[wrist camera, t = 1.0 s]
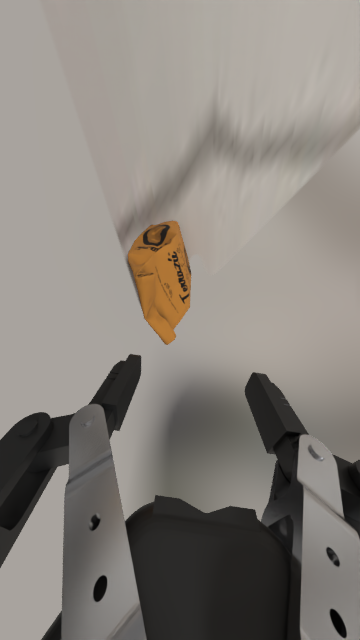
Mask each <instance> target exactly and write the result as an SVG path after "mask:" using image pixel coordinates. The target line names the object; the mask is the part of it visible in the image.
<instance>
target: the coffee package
mask: <svg viewBox="0 0 360 640" xmlns="http://www.w3.org/2000/svg"><path fill="white" fill-rule="evenodd" d="M128 262H129V264H130V267H131V269H132V271H133V274H134V278H135V282H136V286H137V289H138V293H139V298H140V302H141V307H142V311H143V314H144V318H145V320H146V321H147V322H148V323H149V325H150V326H151V327H152V328H153V329H154V331H155V332H156V333H157V334H158V335H159V337H160V338H161V339H162V341H163V342H164V343H165V344H166V345H168V344H169V343H171V342H172V341H173V340H175V337H176V334H175V332H174V331H173V329H174V328H175V327H176V325H177V324H178V323H179V322H180V320H181V319H182V317H183V316H184V315H185V313H186V312H187V310H188V309H189V308H190V288H191V270H190V265H189V261H188V257H187V253H186V250H185V246H184V242H183V239H182V235H181V232H180V227H179V225H178V222H176V221H169V222H164V223H161V224H158V225H151V226H149V227H148V228H147V229H146V230H145V231H144V232H143V233H142V234H141V235H140V236H139V237H138V238H137V239H136V240H135V241H134V243H133V245H132V247H131V250H130V251H129V253H128Z"/></svg>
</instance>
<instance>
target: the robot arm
mask: <svg viewBox="0 0 360 640" xmlns="http://www.w3.org/2000/svg"><path fill="white" fill-rule="evenodd" d="M140 375H141V356H140V355H133V354H130V355H129V356H128V358H127V360H126V361H120V362H118V363H117V364H116V365H115V366H114V367H113V369H112V370H111V371H110V374H108V376H107V378H106V379H105V381H104V382H103V384H102V385H101V387H100V388H99V390H98V391H97V393H96V395H95V396H94V397H93V399H92V401H91V402H90V403H89V404H88V405H87V406H84V407H83V408H81V409H80V410H78V411H77V412H76V413H74V414H71V415H66V416H61V417H56V418H50V416H49V415H48V414H47V413H44V412H39V413H34V414H32V415H29V416H27V417H25V418H23V419H22V420H20V421H19V422H18V423H16V424H15V425H14V426H13V427H12V428H11V429H10V430H9V431H8V432H7V433H6V435H5V436H4V437H3V438H2V439H1V440H0V568H1V566H2V564H3V562H4V560H5V559H6V557H7V555H8V553H9V552H10V550H11V548H12V546H13V544H14V543H15V541H16V539H17V537H18V536H19V534H20V532H21V530H22V528H23V527H24V525H25V523H26V521H27V520H28V518H29V516H30V514H31V513H32V511H33V509H34V507H35V505H36V503H37V502H38V500H39V498H40V497H41V495H42V493H43V491H44V489H45V488H46V486H47V484H48V482H49V481H50V479H51V477H52V475H53V473H54V472H55V470H56V468H57V467H58V466H62V465H66V464H69V479H68V482H67V484H66V488H65V498H64V499H65V500H64V543H63V545H64V546H63V588H62V611H61V613H60V614H59V615H58V616H57V618H56V620H55V621H54V622H53V624H52V625H51V626H50V628H49V629H48V631H47V632H46V634H45V635H44V636H43V638H42V639H41V640H360V460H358V461H356V462H354V463H353V464H352V463H350V462H348V461H346V460H344V459H341V458H339V457H337V456H335V455H333V454H331V452H330V451H329V450H328V449H327V448H326V446H325V445H323V444H322V443H321V442H320V441H319V440H317V439H316V438H314V437H312V436H310V435H309V434H308V433H307V431H306V430H305V428H304V426H303V425H302V423H301V422H300V420H299V419H298V417H297V415H296V414H295V412H294V411H293V409H292V408H291V406H290V405H289V403H288V401H287V400H286V399H285V397H284V395H283V393H282V392H281V390H280V389H279V388H278V387H277V386H275V384H274V383H271V382H270V380H269V378H268V377H267V375H266V374H261V373H252V375H251V377H250V379H249V381H248V383H247V385H246V387H245V395H246V398H247V401H248V403H249V406H250V409H251V412H252V414H253V417H254V419H255V422H256V425H257V427H258V430H259V433H260V435H261V438H262V440H263V443H264V446H265V449H266V451H267V453H270V454H276V456H277V459H278V460H277V461H276V463H275V469H274V475H273V481H272V486H271V492H270V498H269V502H268V504H267V506H266V508H265V510H264V513H263V515H262V519H261V522H260V521H259V520H258V519H257V516H256V512H255V510H253V509H247V508H240V507H232V506H229V507H226V508H223V509H220V510H217V511H214V512H210V513H203V512H202V511H200V510H198V509H197V508H195V507H193V506H191V505H190V504H188V503H186V502H185V501H182V500H181V499H177V498H171V497H164V496H157V495H156V496H155V501H154V502H152V503H149V504H147V505H144V506H142V507H141V508H139V509H138V510H137V511H135V512H134V513H133V514H132V515H131V516H130V517H129V518H128V519H127V520H126V521H125V520H124V515H123V510H122V505H121V499H120V494H119V489H118V483H117V478H116V473H115V467H114V462H113V456H112V451H111V446H110V437H111V435H112V433H113V431H114V430H117V431H119V430H120V428H121V425H122V422H123V420H124V417H125V415H126V412H127V410H128V407H129V405H130V402H131V400H132V397H133V394H134V392H135V389H136V387H137V384H138V382H139V379H140Z"/></svg>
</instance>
